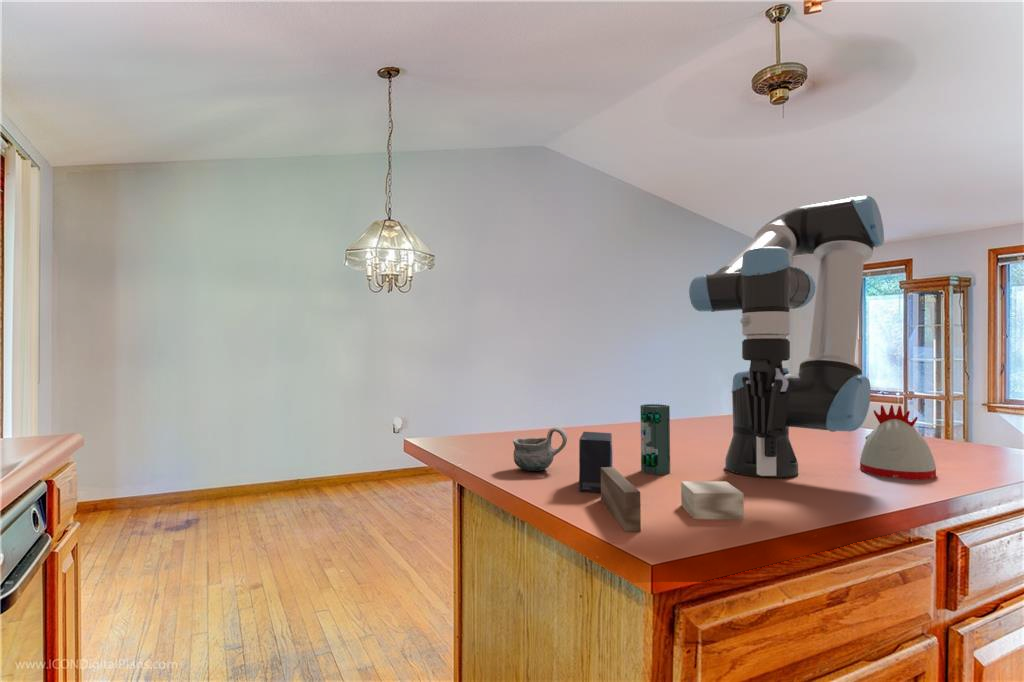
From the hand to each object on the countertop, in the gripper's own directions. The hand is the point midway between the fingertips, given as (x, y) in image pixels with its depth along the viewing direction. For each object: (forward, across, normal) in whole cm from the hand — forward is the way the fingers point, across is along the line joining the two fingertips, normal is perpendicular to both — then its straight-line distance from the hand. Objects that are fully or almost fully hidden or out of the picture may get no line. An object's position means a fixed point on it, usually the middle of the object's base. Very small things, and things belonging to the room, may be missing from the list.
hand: (766, 474), depth 96 cm
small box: (+7, -19, -26) cm, 33 cm away
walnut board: (+7, 0, -26) cm, 26 cm away
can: (+6, -31, -10) cm, 33 cm away
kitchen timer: (+6, -26, +43) cm, 51 cm away
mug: (+7, -35, -36) cm, 51 cm away
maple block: (+7, 0, -10) cm, 12 cm away
